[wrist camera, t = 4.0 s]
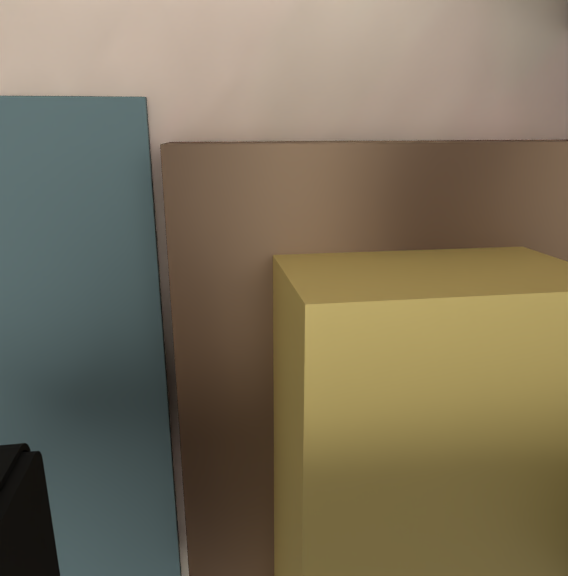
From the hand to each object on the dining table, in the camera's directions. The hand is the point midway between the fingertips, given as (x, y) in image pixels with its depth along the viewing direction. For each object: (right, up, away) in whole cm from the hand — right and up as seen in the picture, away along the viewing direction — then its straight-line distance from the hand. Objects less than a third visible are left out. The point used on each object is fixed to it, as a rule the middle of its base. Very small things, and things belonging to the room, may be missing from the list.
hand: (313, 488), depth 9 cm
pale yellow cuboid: (+2, 0, +2) cm, 2 cm away
